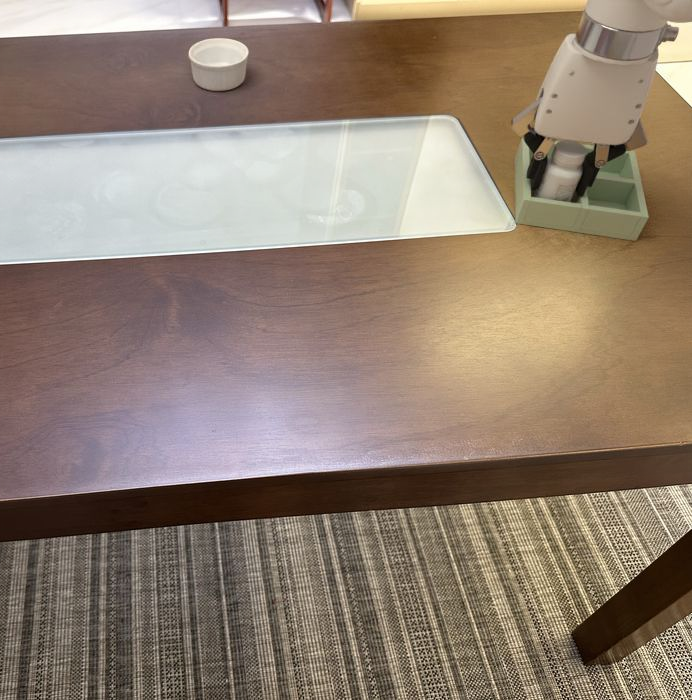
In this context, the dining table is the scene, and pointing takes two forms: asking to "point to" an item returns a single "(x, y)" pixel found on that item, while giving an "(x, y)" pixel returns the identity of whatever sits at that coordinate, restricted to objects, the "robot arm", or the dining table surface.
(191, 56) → the ramekin
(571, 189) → the pill bottle
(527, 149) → the grid
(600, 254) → the dining table surface
